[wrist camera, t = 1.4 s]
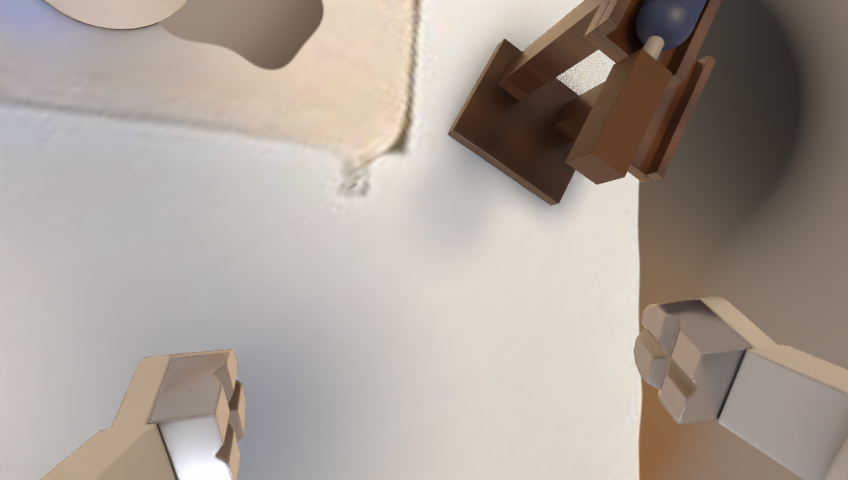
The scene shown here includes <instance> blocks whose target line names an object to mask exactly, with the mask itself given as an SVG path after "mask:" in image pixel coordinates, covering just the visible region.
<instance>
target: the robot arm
mask: <svg viewBox="0 0 848 480" xmlns="http://www.w3.org/2000/svg"><path fill="white" fill-rule="evenodd" d="M45 1H46V2H47V3H49V4H50V5H51V6H53V7H54V8H56V9H57V10H59V11H60V12H62V13H64V14H66V15H68V16H69V17H72V18H74V19H76V20H78V21H81V22H84V23H87V24H90V25H94V26H99V27H104V28H112V29H131V28H139V27H144V26H148V25H151V24H154V23H157V22H160V21H162V20H164V19H166V18H167V17H169V16H171V15H172V14H174V13H175V12H176V11H178V10H179V9H180V8H181V7H182V6H183V5H184V4H185V3H186V2H187V1H188V0H45ZM641 321H642V323H643V325H644V326H645V330H644V331H643V332H642V333H641V334H640V335H639V336H638V337H637V338H636V342H635V347H634V356H635V363H636V366H637V368H638V371H639V373H640V374H641V376H642V377H643V379H644V380H645V381H646V382H647V383H648V384H650V385H652V386H653V387H656V388H657V389H659V400H660V402H661V403H662V404H663V406H664V407H665V408H666V410H667V411H668V412H669V414H670V415H671V416H672V418H673V419H674V420H675V422H676V423H677V424H678V425H680V424H688V423H696V422H705V421H714V420H718V423H720V424H721V425H723V426H724V427H726V428H727V429H729V430H730V431H732V432H733V433H735V434H736V435H738V436H739V437H741V438H742V439H744V440H745V441H747V442H748V443H750V444H751V445H753V446H754V447H756V448H757V449H759V450H760V451H762V452H763V453H765V454H766V455H768V456H769V457H771V458H772V459H774V460H775V461H777V462H778V463H780V464H781V465H783V466H784V467H786V468H787V469H789V470H790V471H792V472H793V473H795V474H796V475H798V476H799V477H801V478H802V479H804V480H848V370H846V369H844V368H841V367H839V366H836V365H834V364H831V363H829V362H827V361H824V360H822V359H819V358H817V357H814V356H812V355H809V354H807V353H804V352H802V351H800V350H797V349H795V348H792V347H790V346H787V345H777V344H776V343H775V342H774V341H773V340H771V339H770V338H769V337H768V336H767V335H765V334H764V333H763V332H762V331H761V330H760V329H759V328H758V327H757V326H755V325H754V324H753V323H752V322H751V321H750V320H749V319H747V318H746V317H745V316H744V315H743V314H742V313H740V312H739V311H738V310H737V309H736V308H735V307H734V306H732V305H731V304H730V303H729V302H728V301H727V300H726V299H724V298H721V297H718V296H712V297H705V298H697V299H693V300H685V301H677V302H667V303H659V304H650V305H648V306H647V307H646V309H645V310H644V312H643V316H642V319H641ZM237 370H238V363H237V359H236V355H235V352H234V351H233V350H232V349H227V350H216V351H204V352H192V353H180V354H174V355H162V356H151V357H145V358H143V359H142V360H141V361H140V362H139V363H138V365H137V368H136V370H135V372H134V375H133V377H132V379H131V382H130V384H129V386H128V389H127V391H126V393H125V396H124V398H123V400H122V403H121V405H120V407H119V410H118V412H117V414H116V417H115V419H114V421H113V424H112V426H111V428H110V429H107V430H100V431H99V432H98V433H97V434H96V435H94V436H93V437H92V438H91V439H89V440H88V441H87V442H86V443H84V444H83V445H82V446H81V447H80V448H78V449H77V450H76V451H75V452H73V453H72V454H71V455H70V456H68V457H67V458H66V459H65V460H63V461H62V462H61V463H60V464H59V465H57V466H56V467H55V468H54V469H52V470H51V471H50V472H49V473H47V474H46V475H45V476H44V477H43V478H41V479H40V480H237V476H238V470H239V464H240V457H241V456H240V452H239V448H238V443H237V442H238V441H239V440H240V439H241V438H242V437H243V436H244V430H245V422H246V404H245V395H244V390H243V385H242V383H240V382H239V381H238V380H236V376H237Z"/></svg>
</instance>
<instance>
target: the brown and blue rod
mask: <svg viewBox="0 0 848 480" xmlns="http://www.w3.org/2000/svg"><path fill="white" fill-rule="evenodd" d="M706 1H707V0H645V2H644V4H643V6H642V8H641V10H640V12H639V14H638V17H637V21H636V31H637V35H638V38H639V39H640V41H641V42H642V43H643V44H644V47H643V49H640V50H638V51H637V52H635V53H633V54H631V55H630V56H628V57H626V58H625V59H623V60H621V61H619V62H618V63H616V64H614V65H613V67H612V69H611V71H610V73H609V75H608V77H607V79H606V81H605V83H604V85H603V87H602V89H601V91H600V93H599V95H598V97H597V99H596V101H595V103H594V105H593V107H592V109H591V111H590V113H589V115H588V117H587V119H586V121H585V123H584V125H583V127H582V129H581V131H580V133H579V135H578V137H577V139H576V141H575V143H574V145H573V147H572V149H571V151H570V153H569V155H568V157H567V159H566V163H567V164H569V165H570V166H571V167H573V168H574V169H576V170H577V171H578V172H580V173H581V174H582V175H584V176H585V177H587V178H588V179H589V180H591V181H592V182H594V183H595V184H601V183H605V182H608V181H612V180H616V179H620V178H623V177H625V175H626V173H627V171H628V169H629V167H630V164H631V162H632V160H633V158H634V156H635V154H636V152H637V149H638V147H639V145H640V143H641V141H642V139H643V137H644V134H645V132H646V130H647V128H648V126H649V124H650V122H651V119H652V117H653V115H654V113H655V111H656V109H657V106H658V104H659V102H660V100H661V98H662V96H663V94H664V91H665V89H666V87H667V85H668V83H669V81H670V79H671V76H672V73H671V72H670V71H669V70H668V69H667V68H665V67H664V66H663V65H662V64H661V63H659V62H658V61H657V58H658V56H659V54H660V52H661V51H666V50H670V49H673V48H676V47H677V46H679V45H680V44H682V43H683V42H684V41H685V40H686V39H687V38H688V37H689V35H690V34H691V32H692V31H693V28H694V26H695V24H696V22H697V20H698V18H699V16H700V13H701V11H702V9H703V7H704V5H705V3H706Z"/></svg>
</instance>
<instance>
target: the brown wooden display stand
mask: <svg viewBox="0 0 848 480" xmlns="http://www.w3.org/2000/svg"><path fill="white" fill-rule="evenodd" d="M721 1H722V0H707V1H706V3H705V5H704V7H703V9H702V11H701V13H700V16H699V18H698V20H697V22H696V24H695V26H694V28H693V31H692V32H691V34H690V35H689V37H688V38H687V39H686V40H685V41H684V42H683V43H682V44H680V45H679V46H677V47H676V48H673V49H670V50H666V51H661V52H660V54H659V56H658V58H657V61H658V62H659V63H661V64H662V65H663V66H664V67H665V68H667V69H668V70H669V71H670V72H671V73H672V76H671V79H670V81H669V83H668V85H667V87H666V89H665V91H664V94H663V96H662V98H661V100H660V102H659V104H658V106H657V109H656V111H655V113H654V115H653V117H652V119H651V122H650V124H649V126H648V128H647V130H646V132H645V134H644V137H643V139H642V141H641V143H640V145H639V147H638V149H637V152H636V154H635V156H634V158H633V160H632V162H631V164H630V167H629V169H628V172H629V173H630V174H632V175H633V176H635V177H636V178H637V179H639V180H640V181H641V182H646V181H651V180H655V179H659V178H663V177H664V175H665V173H666V170H667V168H668V166H669V164H670V162H671V159H672V157H673V155H674V153H675V151H676V148H677V146H678V144H679V141H680V139H681V137H682V135H683V132H684V130H685V128H686V126H687V124H688V121H689V119H690V117H691V115H692V112H693V110H694V108H695V106H696V103H697V101H698V99H699V97H700V95H701V92H702V90H703V88H704V86H705V83H706V81H707V79H708V76H709V74H710V72H711V70H712V67H713V65H714V63H715V61H716V60H715V59H713V58H712V57H711V56H710V55H709V56H706V57H704V58H702V59H700V60H699V61H697V60H696V59H695V58H696V55H697V53H698V51H699V49H700V47H701V45H702V42H703V40H704V38H705V36H706V33H707V31H708V29H709V27H710V25H711V23H712V20H713V18H714V16H715V14H716V12H717V9H718V7H719V5H720V3H721ZM644 2H645V0H584V1H583V2H582V3H581V4H579V5H578V6H577V7H576V8H575V9H573V10H572V11H571V12H570V13H569V14H567V15H566V16H565V17H564V18H563V19H561V20H560V21H559V22H558V23H557V24H555V25H554V26H553V27H552V28H551V29H549V30H548V31H547V32H546V33H545V34H543V35H542V36H541V37H540V38H538V39H537V40H536V41H535V42H534V43H532V44H531V45H530V46H529V47H528V48H526V49H525V50H524V51H523V52H521V51H520V50H519V49H518V48H516V47H515V46H514V45H512V44H511V43H510V42H508V41H507V40H506V39H504V40H503V41H502V42H501V43H500V44H498V46H497V48H496V50H495V51H494V53H493V55H492V57H491V59H490V60H489V62H488V64H487V66H486V67H485V69H484V71H483V73H482V74H481V76H480V78H479V80H478V81H477V83H476V85H475V87H474V89H473V90H472V92H471V94H470V96H469V97H468V99H467V101H466V103H465V104H464V106H463V108H462V110H461V111H460V113H459V115H458V117H457V119H456V120H455V122H454V124H453V126H452V127H451V129H450V131H449V133H448V134H449V135H450V136H452V137H453V138H455V139H456V140H457V141H459V142H460V143H462V144H463V145H465V146H466V147H468V148H469V149H471V150H472V151H473V152H475V153H476V154H478V155H479V156H481V157H482V158H484V159H485V160H487V161H488V162H489V163H491V164H492V165H494V166H495V167H497V168H498V169H500V170H501V171H502V172H504V173H505V174H507V175H508V176H510V177H511V178H513V179H514V180H516V181H517V182H518V183H520V184H521V185H523V186H524V187H526V188H527V189H529V190H530V191H531V192H533V193H534V194H536V195H537V196H539V197H540V198H542V199H543V200H545V201H546V202H547V203H549V204H550V205H555V204H559V202H560V200H561V198H562V196H563V194H564V192H565V190H566V188H567V186H568V184H569V182H570V180H571V178H572V176H573V174H574V172H575V170H576V169H574V168H573V167H571V166H570V165H569V164H567V163H566V159H567V157H568V155H569V153H570V151H571V149H572V147H573V145H574V143H575V141H576V139H577V137H578V135H579V133H580V131H581V129H582V127H583V125H584V123H585V121H586V119H587V117H588V115H589V113H590V111H591V109H592V107H593V105H594V103H595V101H596V99H597V97H598V95H599V93H600V91H601V89H602V87H603V85H604V83H605V82H603V83H601V84H600V85H598V86H596V87H594V88H592V89H591V90H589V91H587V92H585V93H583V94H581V95H580V96H579V95H578V94H576V93H575V92H574V91H572V90H571V89H570V88H568V87H567V86H566V85H565V84H563V83H562V82H561V81H559V80H558V79H557V78H556V77H557V76H559V75H560V74H562V73H563V72H565V71H566V70H568V69H569V68H571V67H572V66H574V65H575V64H577V63H578V62H580V61H581V60H583V59H585V58H586V57H588V56H589V55H591V54H592V53H594V52H595V51H597V50H598V49H599V50H600V51H602V52H603V53H604V54H605V55H607V56H608V57H609V58H610V59H611V60H613V61H614V62H615V63H618V62H619V61H621V60H623V59H625V58H626V57H628V56H630V55H631V54H633V53H635V52H637V51H638V50H640V49H643V47H644V44H643V43H642V42H641V41H640V39H639V38H638V35H637V31H636V21H637V17H638V14H639V12H640V10H641V8H642V6H643V4H644Z"/></svg>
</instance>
